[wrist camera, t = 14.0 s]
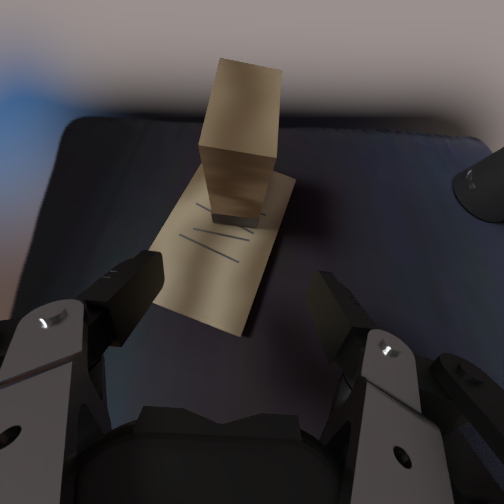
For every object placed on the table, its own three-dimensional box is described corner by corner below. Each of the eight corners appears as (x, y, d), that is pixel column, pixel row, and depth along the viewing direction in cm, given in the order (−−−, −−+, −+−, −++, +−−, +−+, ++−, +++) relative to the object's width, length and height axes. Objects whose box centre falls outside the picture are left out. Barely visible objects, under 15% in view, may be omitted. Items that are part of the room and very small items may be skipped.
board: (293, 185, 24) (296, 179, 23) (239, 335, 18) (240, 337, 17) (212, 154, 25) (211, 146, 23) (130, 292, 18) (123, 291, 17)
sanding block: (262, 166, 23) (282, 69, 14) (256, 228, 20) (277, 159, 11) (224, 160, 23) (218, 56, 14) (212, 222, 20) (196, 146, 11)
